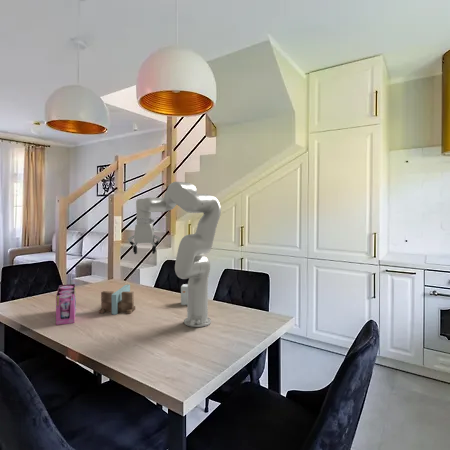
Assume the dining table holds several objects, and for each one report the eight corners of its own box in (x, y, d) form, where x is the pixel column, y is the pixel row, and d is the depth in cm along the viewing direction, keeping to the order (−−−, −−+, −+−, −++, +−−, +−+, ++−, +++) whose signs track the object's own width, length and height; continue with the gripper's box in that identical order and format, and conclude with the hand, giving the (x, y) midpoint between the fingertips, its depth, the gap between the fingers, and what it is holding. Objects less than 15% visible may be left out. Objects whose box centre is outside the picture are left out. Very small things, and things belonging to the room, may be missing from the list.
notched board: (116, 314, 162) (116, 294, 162) (111, 314, 162) (111, 294, 162) (130, 302, 184) (130, 284, 184) (126, 301, 184) (125, 284, 184)
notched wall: (135, 309, 171) (135, 290, 171) (130, 313, 163) (130, 294, 163) (105, 308, 172) (105, 289, 171) (99, 313, 164) (98, 293, 163)
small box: (196, 302, 184) (197, 284, 183) (195, 305, 178) (195, 286, 178) (183, 302, 185) (183, 283, 184) (180, 305, 179) (180, 286, 179)
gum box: (74, 324, 148) (74, 294, 148) (55, 326, 145) (54, 296, 145) (76, 309, 170) (75, 283, 170) (59, 310, 167) (58, 284, 167)
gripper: (161, 221, 177) (162, 252, 178) (129, 222, 177) (130, 253, 178) (158, 221, 170) (159, 254, 170) (125, 222, 170) (126, 254, 170)
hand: (144, 253), depth 174 cm, fingers open, 9 cm apart
